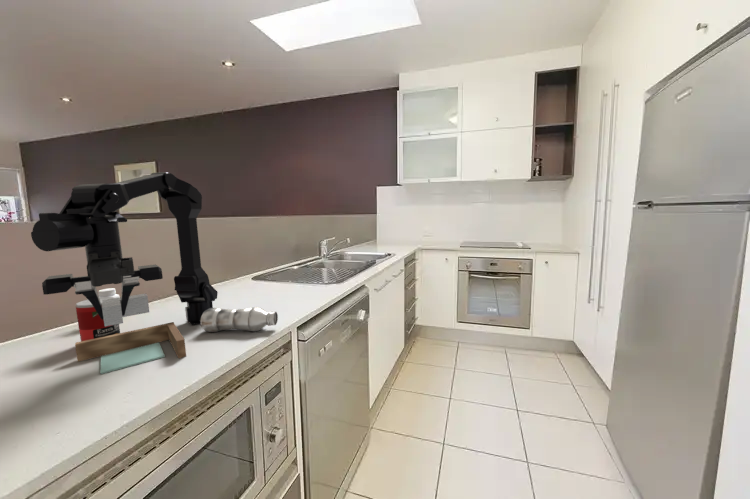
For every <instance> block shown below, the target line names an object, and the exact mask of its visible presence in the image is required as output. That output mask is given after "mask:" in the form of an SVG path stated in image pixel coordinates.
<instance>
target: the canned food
mask: <svg viewBox="0 0 750 499" xmlns="http://www.w3.org/2000/svg"><path fill="white" fill-rule="evenodd" d="M113 298H114V297H101V298H99V299H100V302H101V305H102V300H107V299H113ZM75 310H76V313H75V314H76V319H77V325H78V331H79V338H80V342H81V341H86V340H90V339H95V338H100V337H105V336H109V335H114V334H119V333H121V329H120V324H116V325H110V326H104V319H103V320H102V319H101V318H100V316H99V315H98V313H97V311H96V310H95V308H94V306H93V305H92V304H91V302H90V301H89V300H88V299H84V300H81V301H79V302H76V303H75Z"/></svg>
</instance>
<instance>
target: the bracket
mask: <svg viewBox="0 0 750 499" xmlns="http://www.w3.org/2000/svg"><path fill="white" fill-rule="evenodd" d="M102 311H103V318H104V326H110V325H116V324H119V325H120V324H124V320H123V318H126V317H131V316H136V315H141V314H143V315H144V314H147V313H150V306H149V297H148V294H147V293H140V294H134V295H130V297H129V300H128V303H127V307H126V311H125V315H124V316H122V310H121V296H120V298H113V299H107V300H102Z"/></svg>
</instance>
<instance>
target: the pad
mask: <svg viewBox="0 0 750 499" xmlns="http://www.w3.org/2000/svg"><path fill="white" fill-rule="evenodd" d="M162 358H165V353H164V351H163V349H162V346H161V343H160V342H158V343H154V344H150V345H145V346H141V347H137V348H133V349H129V350H125V351H120V352H116V353H112V354H108V355H104V356H100V375H103V374H106V373H110V372H114V371H117V370H121V369H125V368H130V367H133V366H137V365H139V364H144V363H147V362H152V361H156V360H158V359H162Z"/></svg>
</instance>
